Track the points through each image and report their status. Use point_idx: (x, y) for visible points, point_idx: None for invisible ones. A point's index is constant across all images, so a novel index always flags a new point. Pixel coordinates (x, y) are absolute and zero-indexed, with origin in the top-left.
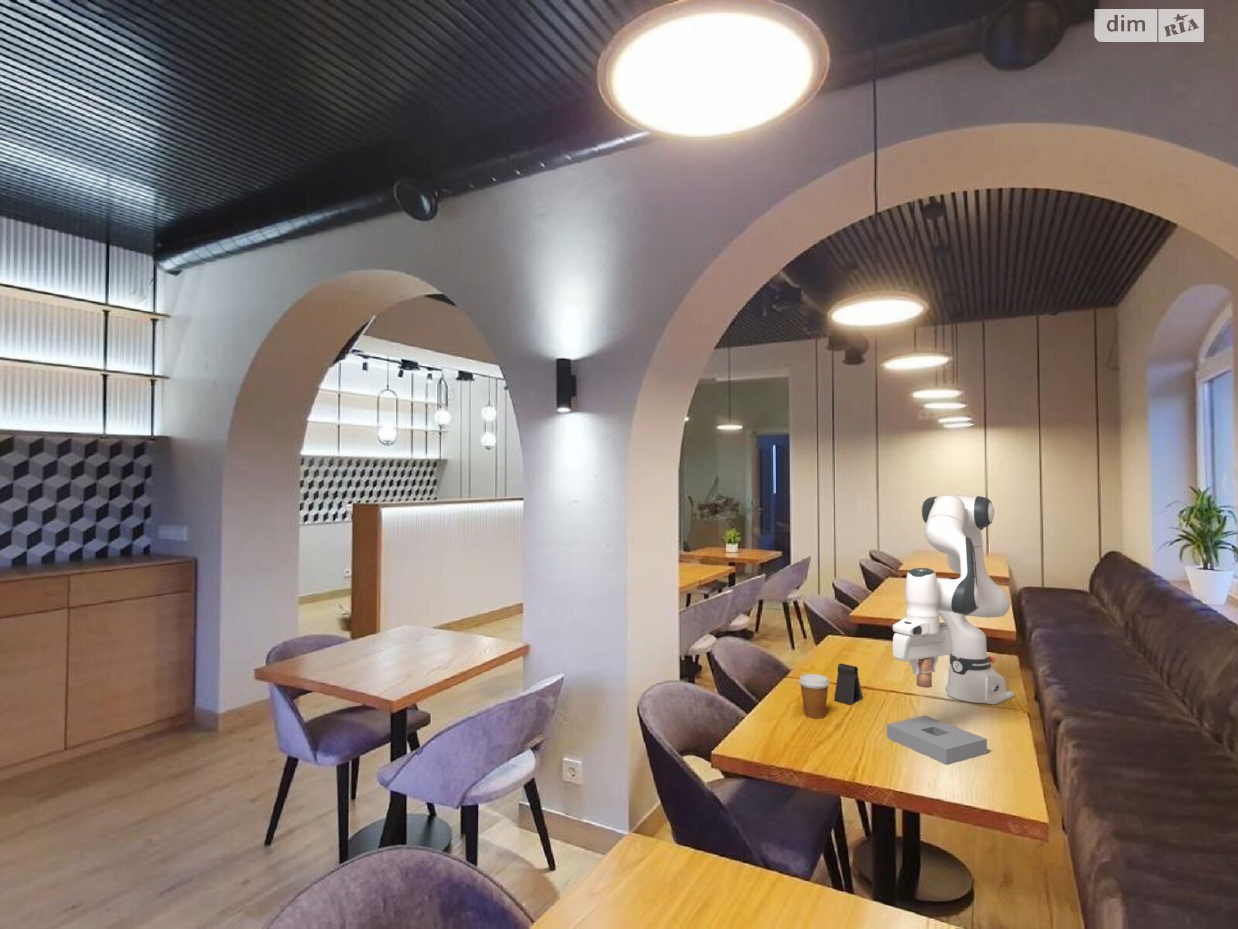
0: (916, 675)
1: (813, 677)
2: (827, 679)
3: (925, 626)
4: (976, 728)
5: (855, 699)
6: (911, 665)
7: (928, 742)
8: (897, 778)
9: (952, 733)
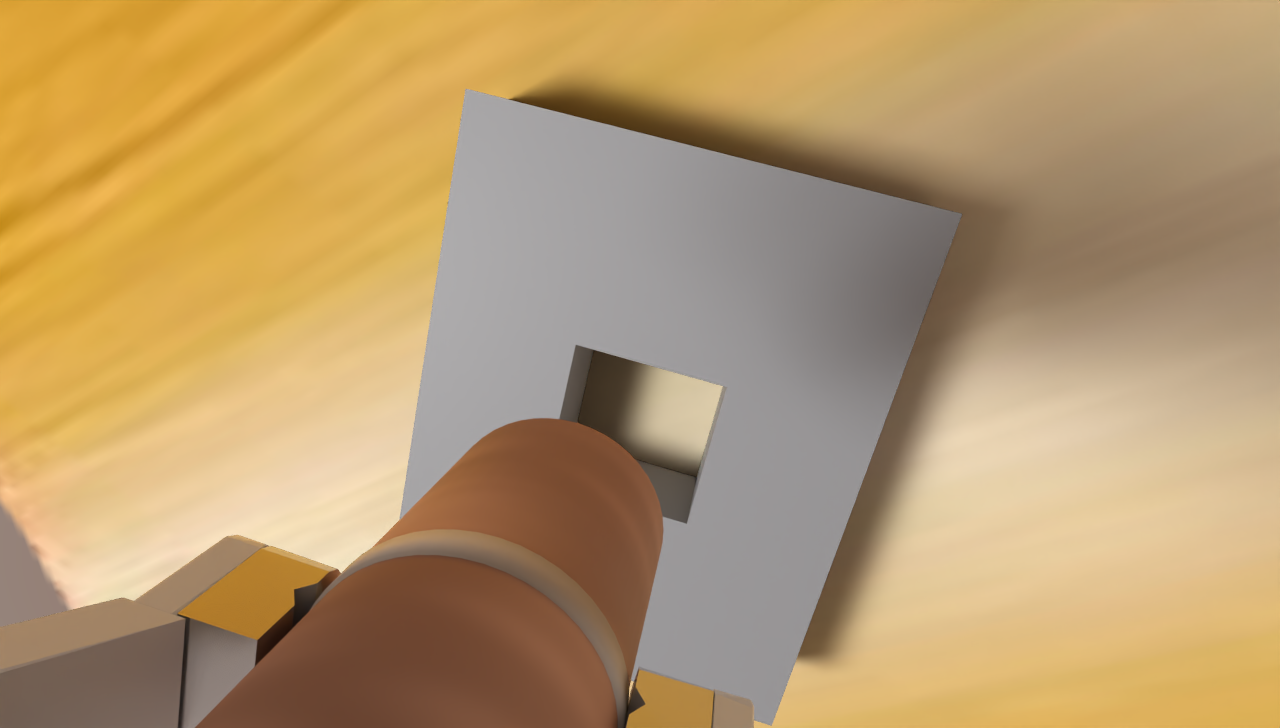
0: (421, 503)
1: None
2: None
3: None
4: (1245, 474)
5: None
6: (42, 625)
7: (405, 483)
8: (87, 442)
9: (688, 540)
